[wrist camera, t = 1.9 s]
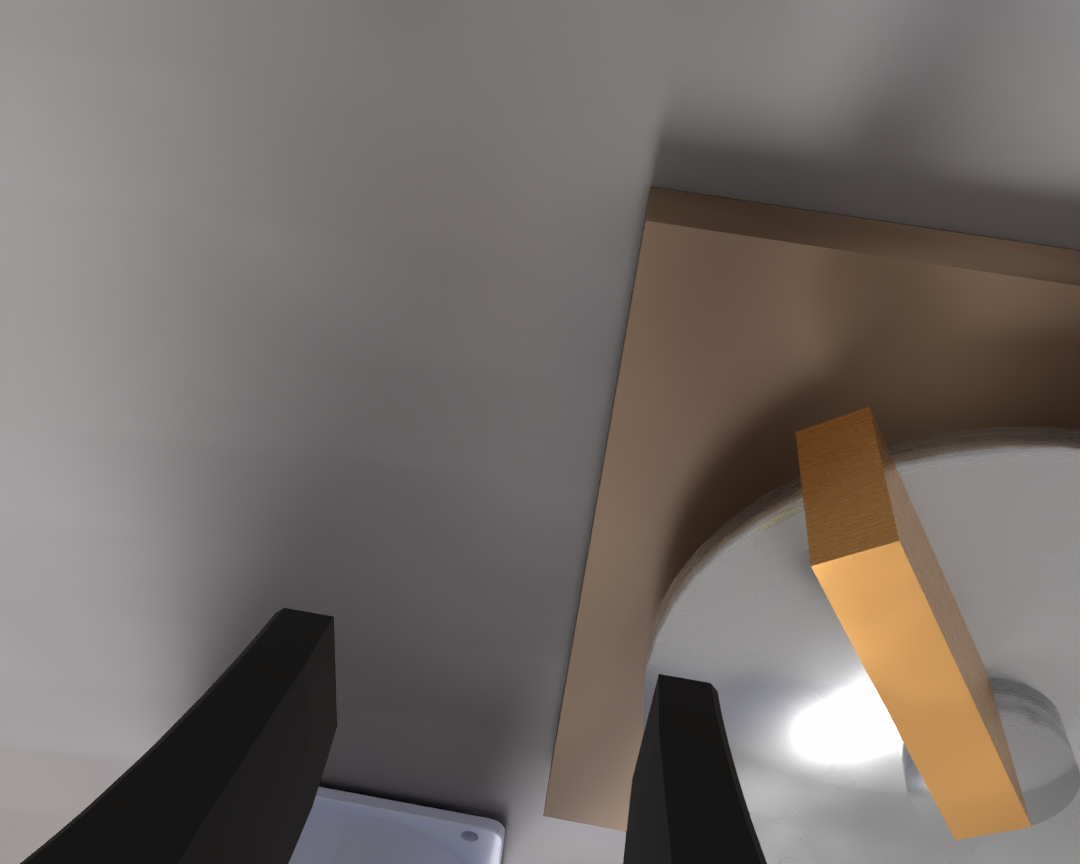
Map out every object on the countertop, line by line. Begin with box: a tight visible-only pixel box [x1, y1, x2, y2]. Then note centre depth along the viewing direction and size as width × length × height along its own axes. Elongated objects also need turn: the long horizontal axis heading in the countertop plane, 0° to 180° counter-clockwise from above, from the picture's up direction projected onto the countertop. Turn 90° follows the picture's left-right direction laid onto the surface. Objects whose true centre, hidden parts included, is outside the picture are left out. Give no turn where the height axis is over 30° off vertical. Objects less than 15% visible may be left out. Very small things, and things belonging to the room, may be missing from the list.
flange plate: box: [643, 407, 1080, 864], centre depth 19 cm, size 13×13×4 cm
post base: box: [543, 187, 1080, 831], centre depth 20 cm, size 16×17×6 cm
